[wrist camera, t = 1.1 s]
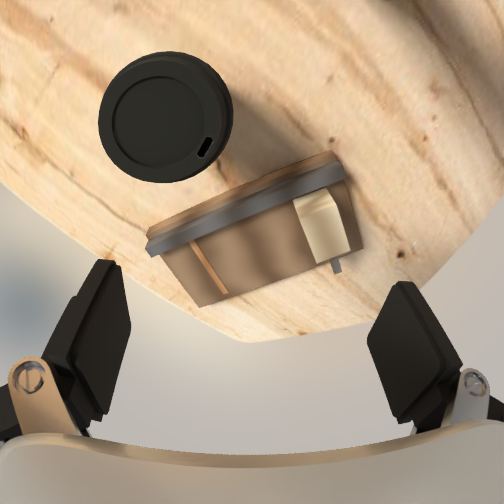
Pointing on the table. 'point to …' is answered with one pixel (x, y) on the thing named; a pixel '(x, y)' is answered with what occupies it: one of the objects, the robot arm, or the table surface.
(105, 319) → the robot arm
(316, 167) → the walnut board
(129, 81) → the coffee cup
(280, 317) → the table surface
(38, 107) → the table surface
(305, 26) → the table surface
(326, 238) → the block
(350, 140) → the table surface
